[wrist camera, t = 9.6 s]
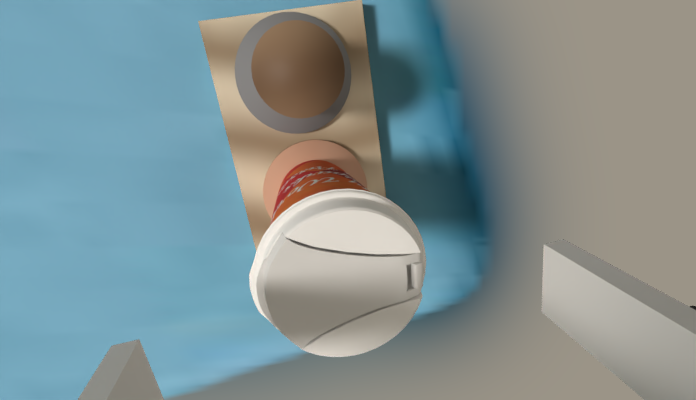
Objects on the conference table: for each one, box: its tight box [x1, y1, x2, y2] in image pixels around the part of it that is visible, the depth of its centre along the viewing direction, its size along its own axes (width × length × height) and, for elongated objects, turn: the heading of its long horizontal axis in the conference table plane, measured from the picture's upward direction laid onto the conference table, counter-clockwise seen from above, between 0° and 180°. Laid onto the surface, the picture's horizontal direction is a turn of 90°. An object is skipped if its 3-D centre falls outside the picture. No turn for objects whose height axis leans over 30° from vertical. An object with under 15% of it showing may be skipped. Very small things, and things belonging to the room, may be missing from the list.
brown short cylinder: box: [251, 20, 345, 119], centre depth 22 cm, size 5×5×6 cm
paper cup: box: [249, 160, 426, 357], centre depth 21 cm, size 8×8×14 cm
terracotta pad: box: [263, 139, 367, 219], centre depth 28 cm, size 8×8×1 cm
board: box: [198, 0, 386, 251], centre depth 28 cm, size 17×11×1 cm, turn 8°
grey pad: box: [235, 12, 351, 134], centre depth 26 cm, size 8×8×1 cm
